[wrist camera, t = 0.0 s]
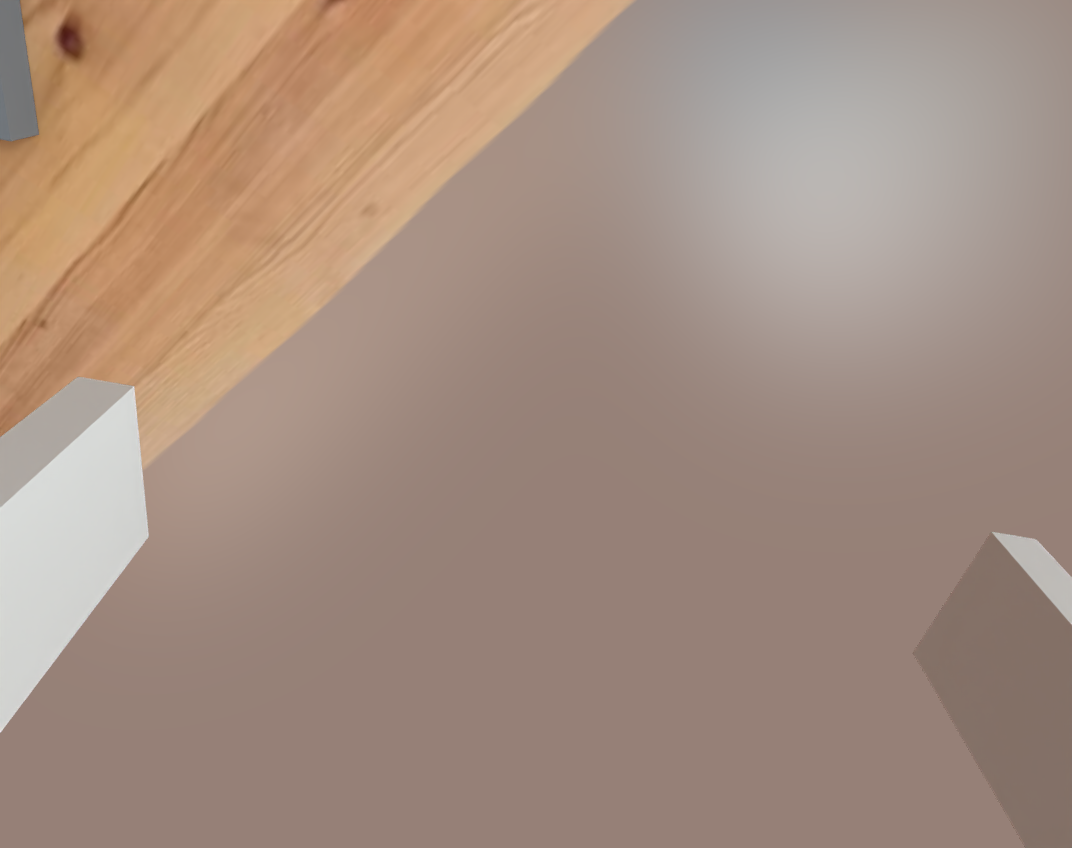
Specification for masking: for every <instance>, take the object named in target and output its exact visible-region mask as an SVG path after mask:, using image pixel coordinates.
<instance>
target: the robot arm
mask: <svg viewBox="0 0 1072 848" xmlns="http://www.w3.org/2000/svg"><path fill="white" fill-rule="evenodd" d="M148 537H149V535H148V524H147V514H146V504H145V493H144V483H143V473H142V462H141V452H140V442H139V432H138V421H137V411H136V401H135V391H134V386H130V385H124V384H118V383H112V382H106V381H100V380H94V379H89V378H83V377H77V378H76V379H74V380H73V381H72V382H71V383H69V384H68V385H67V386H65V387H64V388H63V389H62V390H60V391H59V392H58V393H56V394H55V395H54V396H53V397H51V398H50V399H49V400H47V401H46V402H45V403H44V404H42V405H41V406H40V407H38V408H37V409H36V410H35V411H33V412H32V413H31V414H29V415H28V416H27V417H26V418H24V419H23V420H22V421H20V422H19V423H18V424H17V425H15V426H14V427H13V428H11V429H10V430H9V431H8V432H6V433H5V434H4V435H2V436H1V437H0V732H1V731H2V730H3V728H4V727H5V726H6V724H7V723H8V722H9V720H10V719H11V718H12V716H13V715H14V714H15V713H16V711H17V710H18V708H19V707H20V706H21V705H22V703H23V702H24V700H25V699H26V698H27V697H28V695H29V694H30V693H31V691H32V690H33V689H34V687H35V686H36V685H37V683H38V682H39V681H40V679H41V678H42V677H43V676H44V674H45V673H46V672H47V670H48V669H49V668H50V666H51V665H52V664H53V662H54V661H55V660H56V658H57V657H58V656H59V654H60V653H61V652H62V650H63V649H64V648H65V646H66V645H67V644H68V642H69V641H70V640H71V639H72V637H73V636H74V635H75V633H76V632H77V631H78V629H79V628H80V627H81V625H82V624H83V623H84V621H85V620H86V619H87V617H88V616H89V614H90V613H91V612H92V611H93V609H94V608H95V607H96V606H97V604H98V603H99V602H100V600H101V599H102V598H103V596H104V595H105V594H106V592H107V591H108V590H109V588H110V587H111V585H112V584H113V583H114V582H115V580H116V579H117V578H118V576H119V575H120V574H121V572H122V571H123V570H124V568H125V567H126V566H127V565H128V563H129V562H130V561H131V559H132V558H133V556H134V555H135V554H136V552H137V551H138V550H139V549H140V547H141V546H142V545H143V543H144V542H145V541H146V539H147V538H148ZM913 654H914V656H915V658H916V659H917V661H918V663H919V665H920V666H921V668H922V670H923V672H924V673H925V675H926V677H927V679H928V680H929V682H930V684H931V685H932V687H933V689H934V690H935V692H936V694H937V696H938V698H939V699H940V701H941V703H942V704H943V706H944V708H945V710H946V711H947V713H948V715H949V716H950V718H951V720H952V722H953V724H954V725H955V727H956V729H957V731H958V732H959V734H960V735H961V737H962V739H963V741H964V743H965V744H966V746H967V748H968V750H969V751H970V753H971V755H972V756H973V758H974V760H975V762H976V763H977V765H978V767H979V769H980V770H981V772H982V774H983V775H984V777H985V779H986V781H987V782H988V784H989V786H990V788H991V789H992V791H993V793H994V795H995V796H996V798H997V800H998V801H999V803H1000V805H1001V807H1002V808H1003V810H1004V812H1005V814H1006V815H1007V817H1008V819H1009V821H1010V822H1011V824H1012V826H1013V828H1014V829H1015V831H1016V833H1017V834H1018V836H1019V838H1020V840H1021V841H1022V843H1023V845H1024V847H1025V848H1072V577H1071V576H1070V575H1069V574H1068V573H1067V572H1066V571H1065V570H1064V569H1063V568H1062V567H1061V566H1060V565H1059V563H1057V561H1056V560H1055V559H1054V558H1053V557H1052V556H1051V555H1050V554H1049V553H1048V552H1047V551H1046V550H1045V549H1044V547H1043V546H1042V545H1041V544H1040V543H1039V542H1038V541H1037V540H1036V539H1031V538H1025V537H1019V536H1014V535H1008V534H1001V533H996V532H991V533H990V534H989V536H988V538H987V539H986V541H985V542H984V544H983V545H982V547H981V548H980V550H979V552H978V553H977V554H976V556H975V558H974V559H973V561H972V562H971V564H970V565H969V567H968V568H967V570H966V572H965V573H964V575H963V576H962V578H961V579H960V581H959V582H958V584H957V585H956V587H955V588H954V590H953V592H952V593H951V594H950V596H949V598H948V599H947V601H946V602H945V604H944V605H943V607H942V608H941V610H940V611H939V613H938V615H937V616H936V618H935V619H934V621H933V622H932V624H931V625H930V627H929V629H928V630H927V631H926V633H925V635H924V636H923V638H922V639H921V641H920V642H919V644H918V645H917V647H916V649H915V650H914V652H913Z"/></svg>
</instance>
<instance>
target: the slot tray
mask: <svg viewBox="0 0 1072 848" xmlns="http://www.w3.org/2000/svg"><path fill="white" fill-rule="evenodd" d="M35 135H39V132H38V125H37V118H36V111H35V104H34V97H33V90H32V83H31V76H30V69H29V62H28V56H27V49H26V42H25V35H24V28H23V21H22V14H21V7H20V0H0V139H2V140H7V141H14V140H18V139H22V138H27V137H31V136H35Z"/></svg>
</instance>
